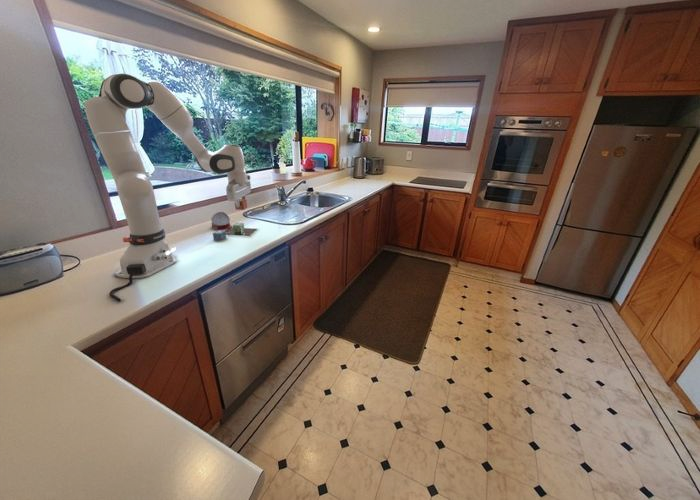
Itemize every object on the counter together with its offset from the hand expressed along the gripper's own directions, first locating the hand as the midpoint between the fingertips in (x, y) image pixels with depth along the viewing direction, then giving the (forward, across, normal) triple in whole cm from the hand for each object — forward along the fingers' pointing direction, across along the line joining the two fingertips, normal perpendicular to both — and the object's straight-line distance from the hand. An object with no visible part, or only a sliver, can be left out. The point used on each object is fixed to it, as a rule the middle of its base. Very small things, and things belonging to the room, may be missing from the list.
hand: (241, 205), depth 146 cm
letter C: (+2, 0, 0) cm, 2 cm away
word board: (+18, +5, +6) cm, 19 cm away
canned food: (+18, +11, +20) cm, 29 cm away
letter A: (+17, +5, +6) cm, 19 cm away
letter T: (+17, -7, +11) cm, 22 cm away
